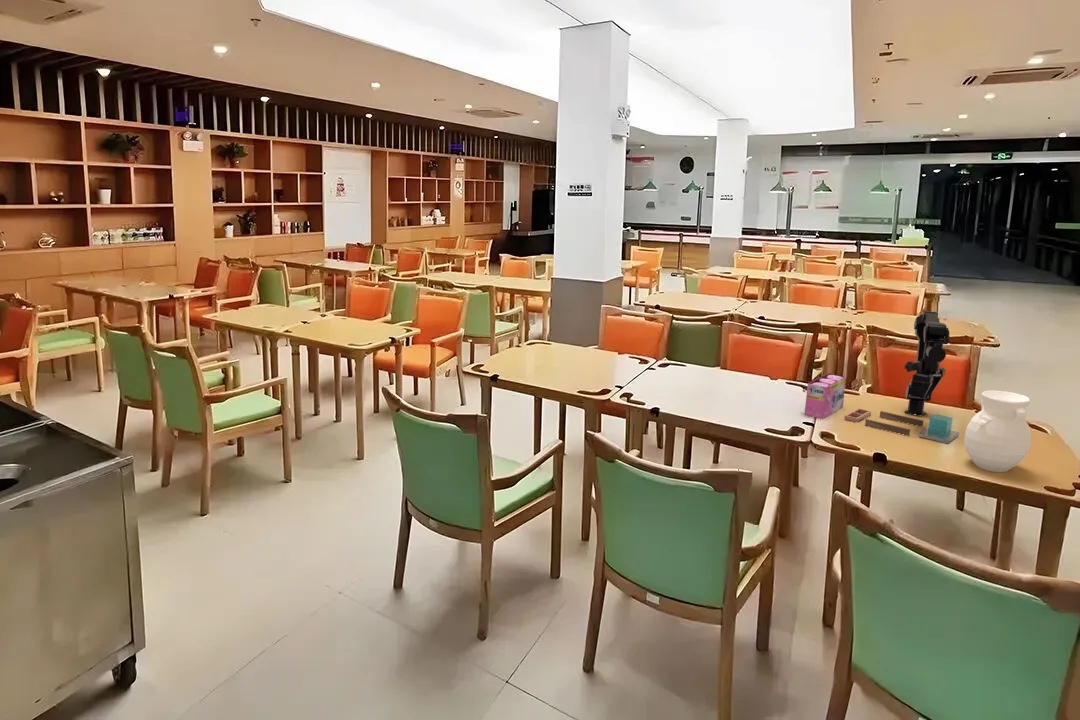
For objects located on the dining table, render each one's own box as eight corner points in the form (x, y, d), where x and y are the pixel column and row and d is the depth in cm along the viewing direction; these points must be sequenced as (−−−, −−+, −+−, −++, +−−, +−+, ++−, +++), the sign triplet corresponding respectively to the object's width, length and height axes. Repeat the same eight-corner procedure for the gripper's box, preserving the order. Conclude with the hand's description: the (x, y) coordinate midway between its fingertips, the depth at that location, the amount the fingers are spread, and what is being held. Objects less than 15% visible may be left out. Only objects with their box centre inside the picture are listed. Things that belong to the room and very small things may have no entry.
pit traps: (858, 412, 290) (858, 408, 289) (870, 415, 286) (871, 411, 286) (844, 419, 280) (844, 415, 280) (856, 422, 277) (857, 418, 276)
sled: (929, 428, 270) (932, 410, 269) (958, 435, 263) (961, 417, 262) (918, 436, 262) (921, 418, 260) (947, 443, 255) (950, 424, 253)
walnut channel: (880, 416, 285) (881, 411, 284) (922, 426, 274) (923, 420, 273) (864, 425, 274) (865, 419, 273) (908, 436, 263) (909, 429, 262)
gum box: (825, 402, 303) (829, 372, 300) (844, 406, 298) (848, 375, 295) (803, 415, 286) (807, 383, 283) (823, 419, 281) (826, 386, 277)
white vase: (1039, 477, 226) (1053, 403, 220) (985, 478, 225) (998, 404, 219) (998, 455, 244) (1010, 387, 238) (947, 456, 243) (959, 387, 237)
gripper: (917, 349, 277) (912, 386, 281) (900, 356, 264) (895, 395, 268) (948, 354, 270) (942, 392, 273) (932, 361, 257) (926, 402, 261)
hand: (925, 395), depth 269 cm, fingers open, 9 cm apart
